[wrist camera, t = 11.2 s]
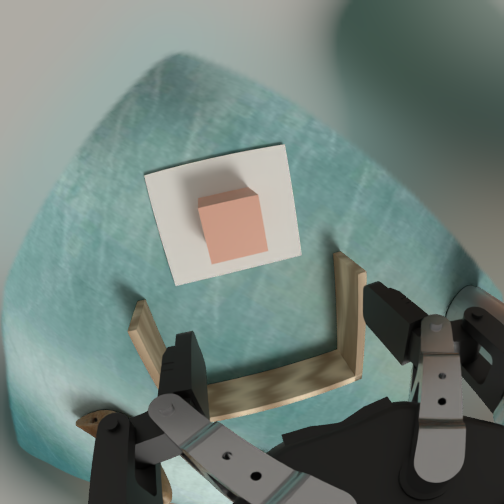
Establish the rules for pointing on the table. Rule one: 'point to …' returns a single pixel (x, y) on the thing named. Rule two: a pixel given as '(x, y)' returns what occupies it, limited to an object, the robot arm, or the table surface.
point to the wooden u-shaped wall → (283, 378)
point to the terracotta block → (232, 224)
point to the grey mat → (214, 182)
